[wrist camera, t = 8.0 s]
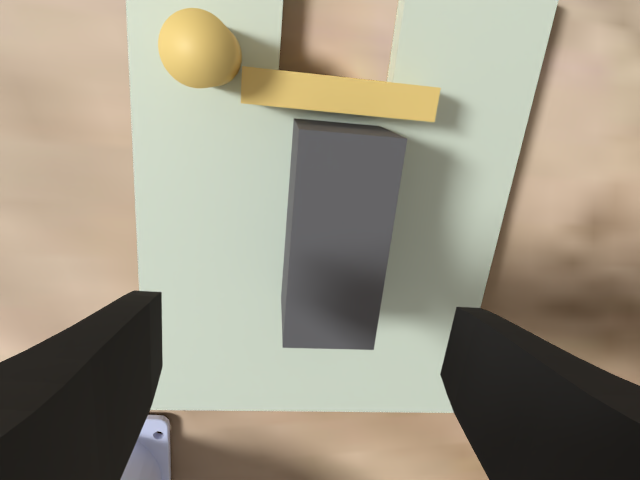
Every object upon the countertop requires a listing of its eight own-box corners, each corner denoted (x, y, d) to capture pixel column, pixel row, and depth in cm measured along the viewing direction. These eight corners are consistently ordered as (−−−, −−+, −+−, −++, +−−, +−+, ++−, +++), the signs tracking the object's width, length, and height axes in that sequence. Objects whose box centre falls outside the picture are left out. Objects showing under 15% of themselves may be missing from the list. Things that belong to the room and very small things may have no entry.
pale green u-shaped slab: (446, 399, 24) (482, 466, 20) (150, 395, 22) (121, 469, 18) (544, -1, 18) (629, -26, 13) (131, -59, 16) (78, -109, 11)
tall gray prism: (355, 300, 20) (373, 350, 17) (281, 297, 20) (282, 347, 16) (379, 125, 18) (407, 138, 14) (293, 118, 17) (299, 129, 14)
